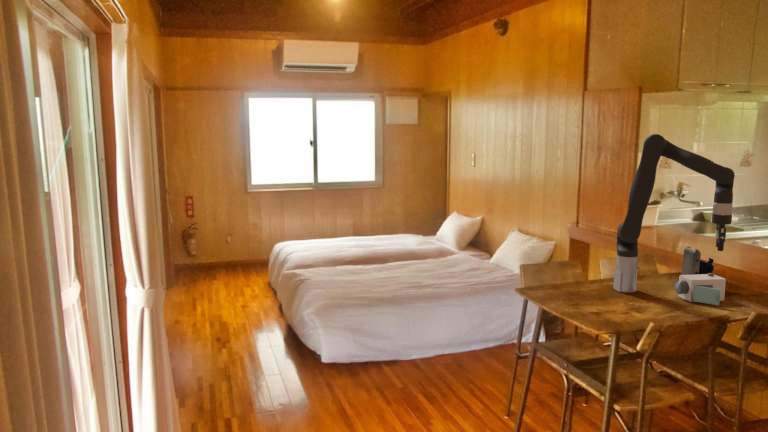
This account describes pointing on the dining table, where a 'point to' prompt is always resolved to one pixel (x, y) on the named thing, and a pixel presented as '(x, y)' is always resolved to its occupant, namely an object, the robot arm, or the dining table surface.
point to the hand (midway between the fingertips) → (719, 249)
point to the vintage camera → (695, 263)
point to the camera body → (699, 284)
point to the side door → (705, 295)
